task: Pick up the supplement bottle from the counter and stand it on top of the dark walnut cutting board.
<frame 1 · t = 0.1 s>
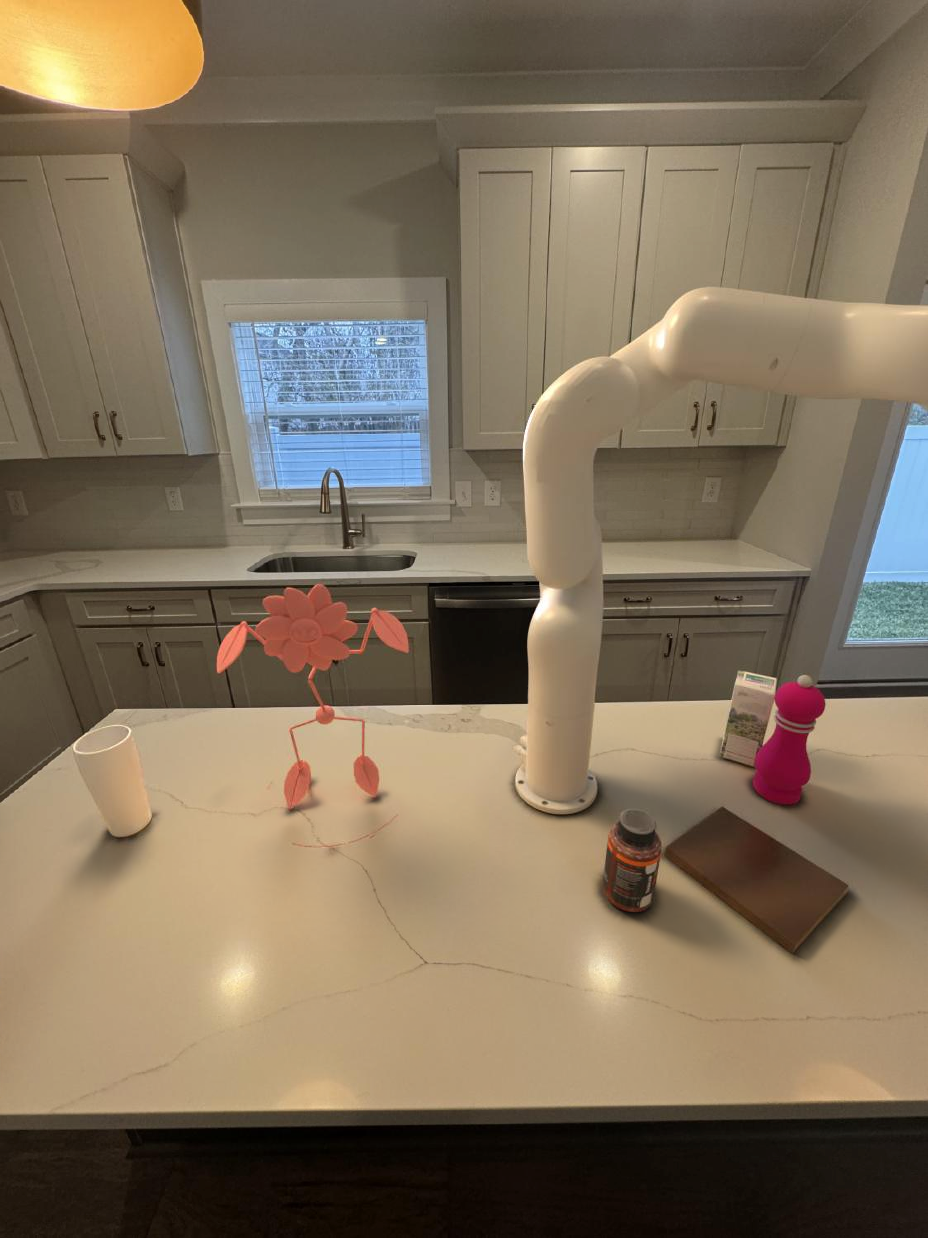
supplement bottle: (627, 894, 62), on the table
syrup box: (739, 755, 86), on the table
pepper mill: (775, 791, 78), on the table
drinking glass: (132, 826, 74), on the table
cutting board: (750, 873, 64), on the table
figurine: (331, 812, 75), on the table
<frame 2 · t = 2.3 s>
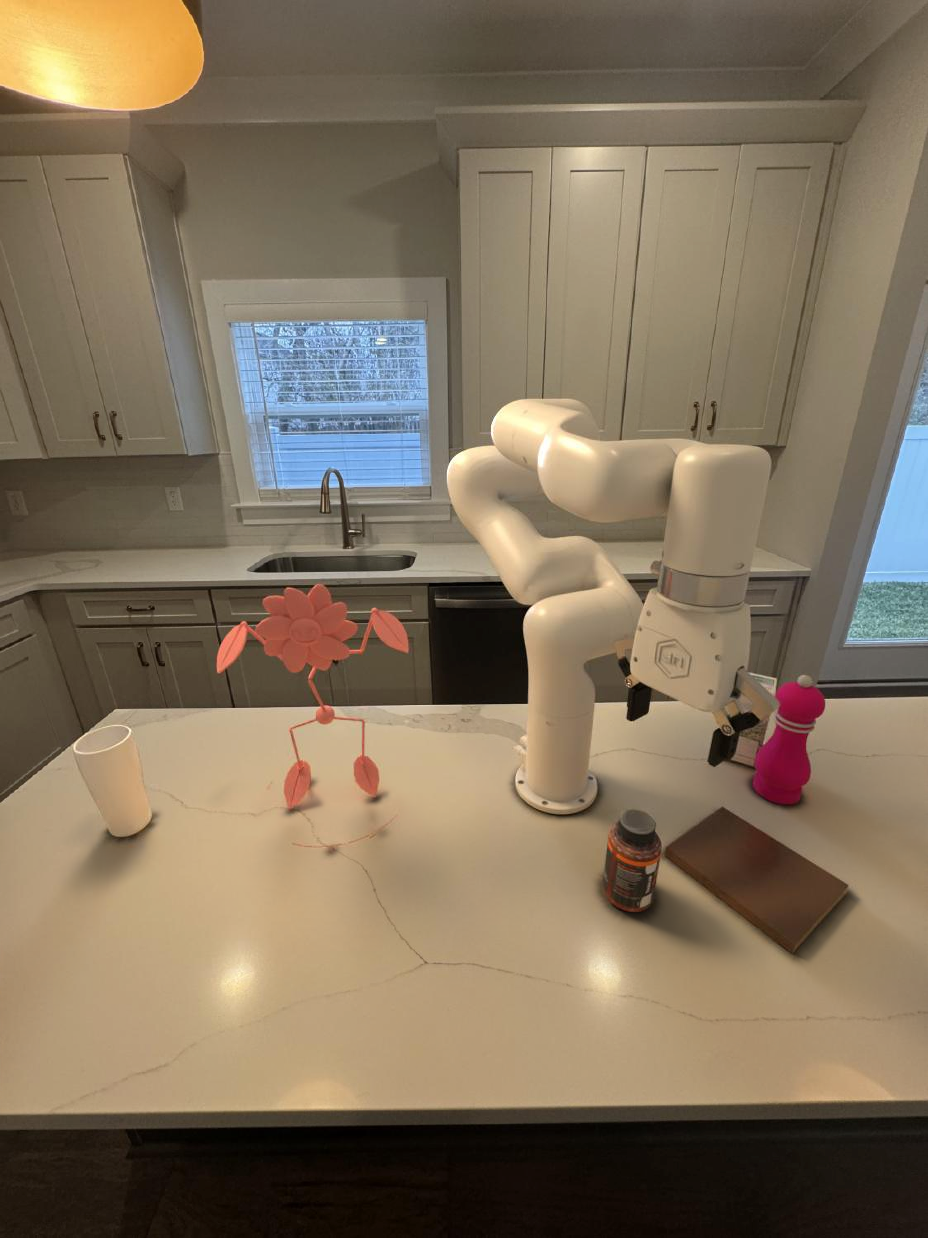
hand: (675, 737, 54), 22 cm above the table, tool pointing down, fingers open, 9 cm apart
nothing on the table moved.
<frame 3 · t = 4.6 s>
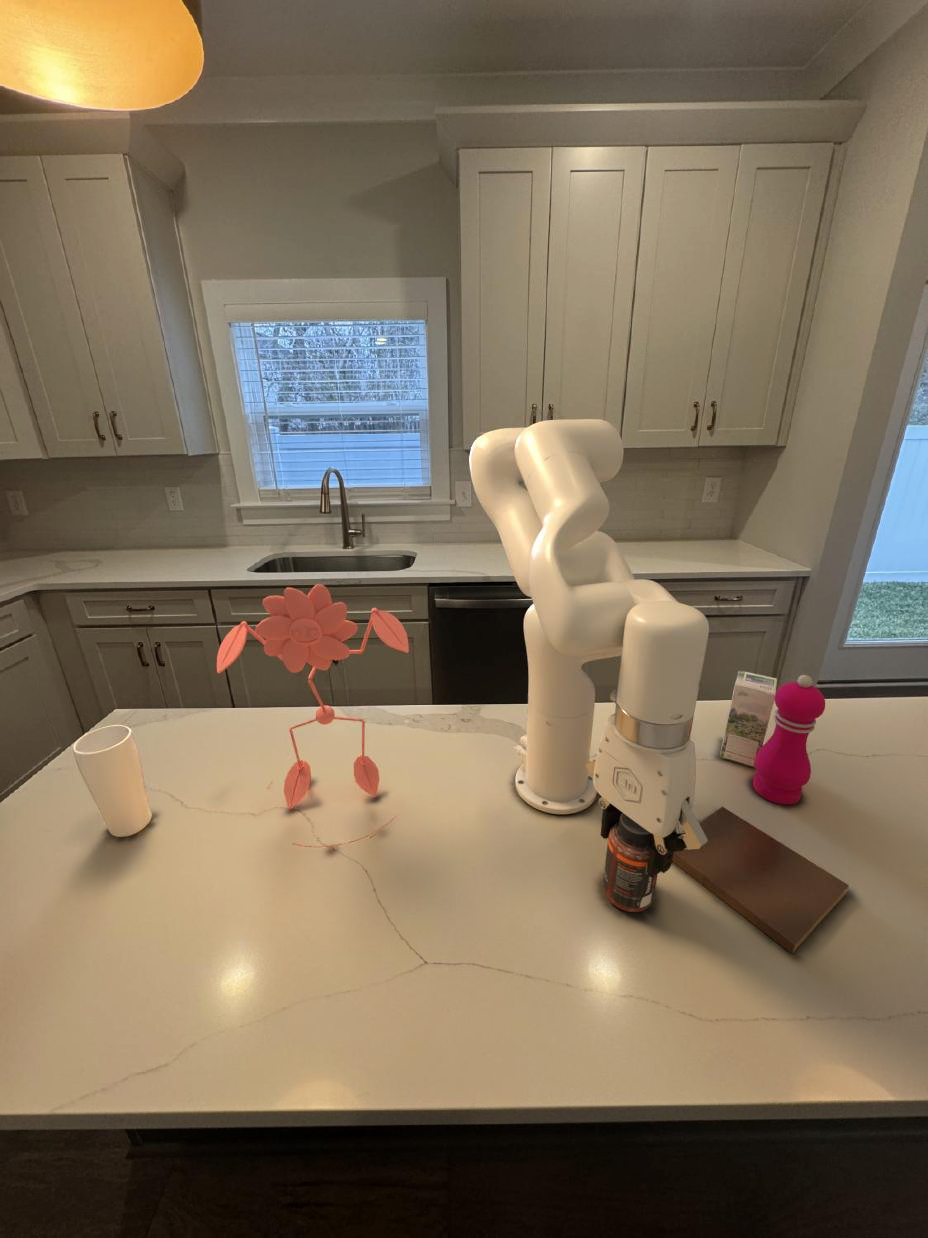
hand: (633, 849, 59), 7 cm above the table, tool pointing down, fingers closed on supplement bottle, 5 cm apart
supplement bottle: (627, 894, 62), on the table, touching gripper
everything else where it was.
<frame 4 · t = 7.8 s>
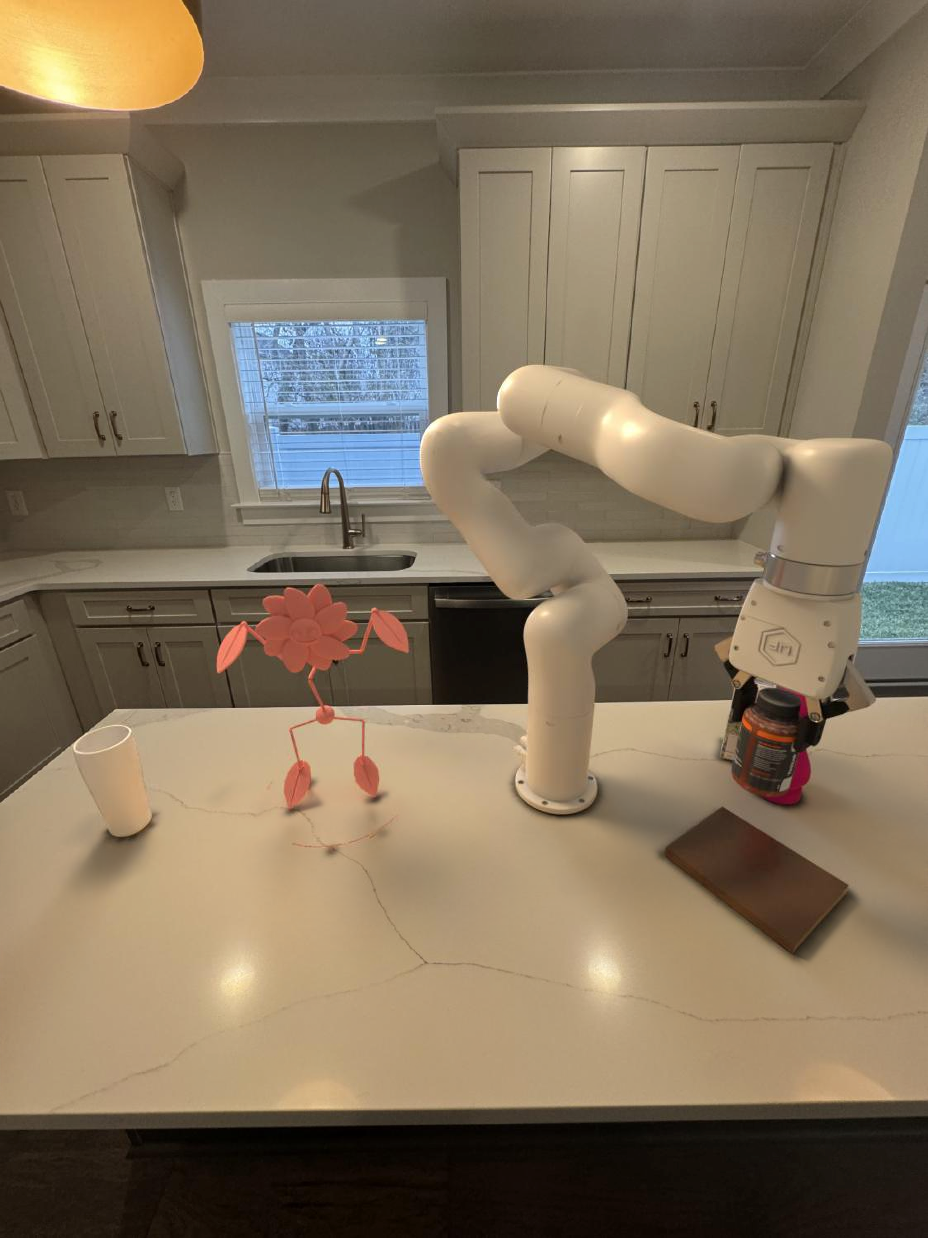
hand: (771, 730, 55), 22 cm above the table, tool pointing down, fingers closed on supplement bottle, 5 cm apart
supplement bottle: (758, 783, 58), point 15 cm above the table, touching gripper
everything else where it was.
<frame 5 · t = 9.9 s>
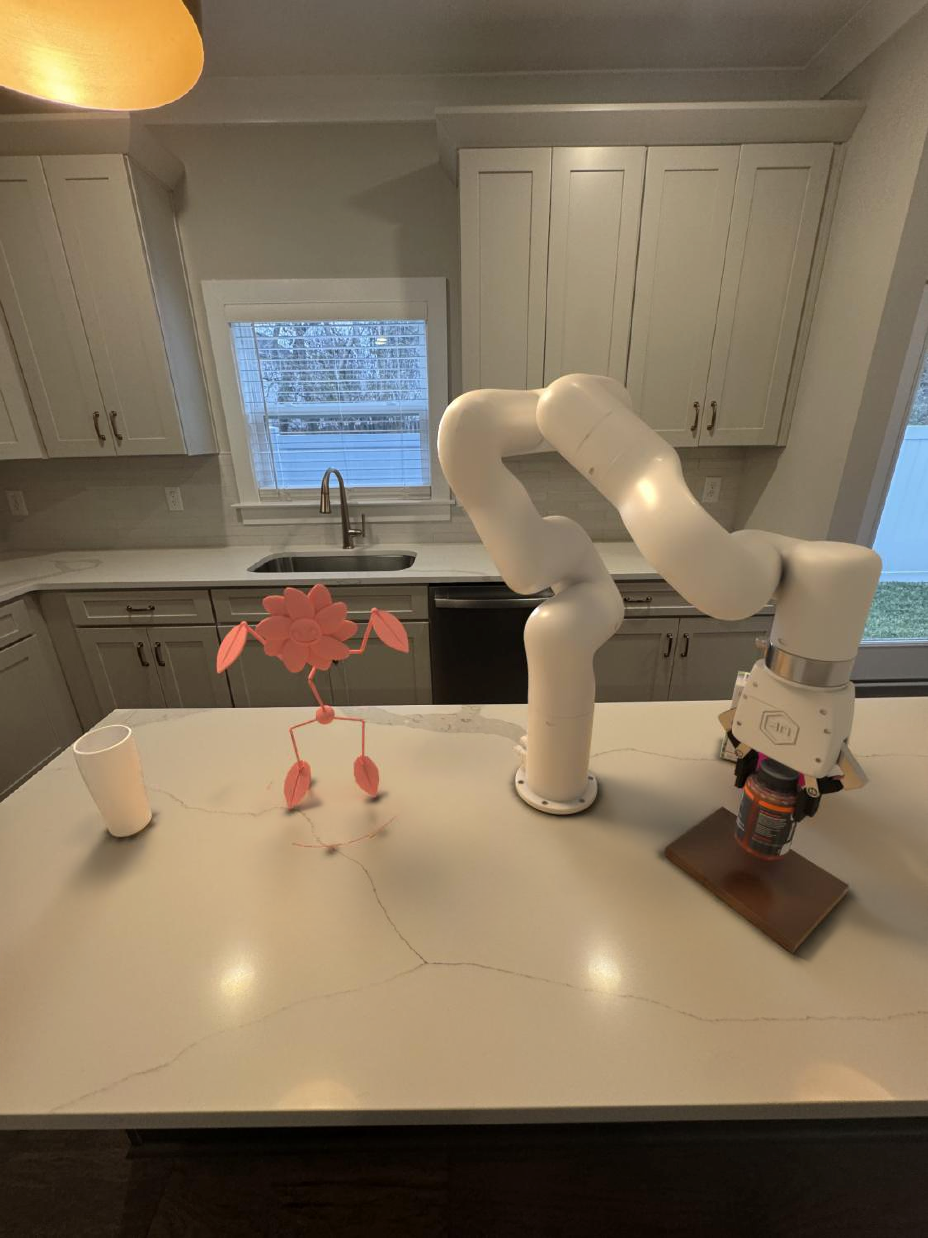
hand: (771, 798, 59), 12 cm above the table, tool pointing down, fingers closed on supplement bottle, 5 cm apart
supplement bottle: (759, 844, 62), point 5 cm above the table, touching gripper
everything else where it was.
when the fingers open (8 cm above the table, at t = 11.4 s): supplement bottle stays where it is, resting on cutting board.
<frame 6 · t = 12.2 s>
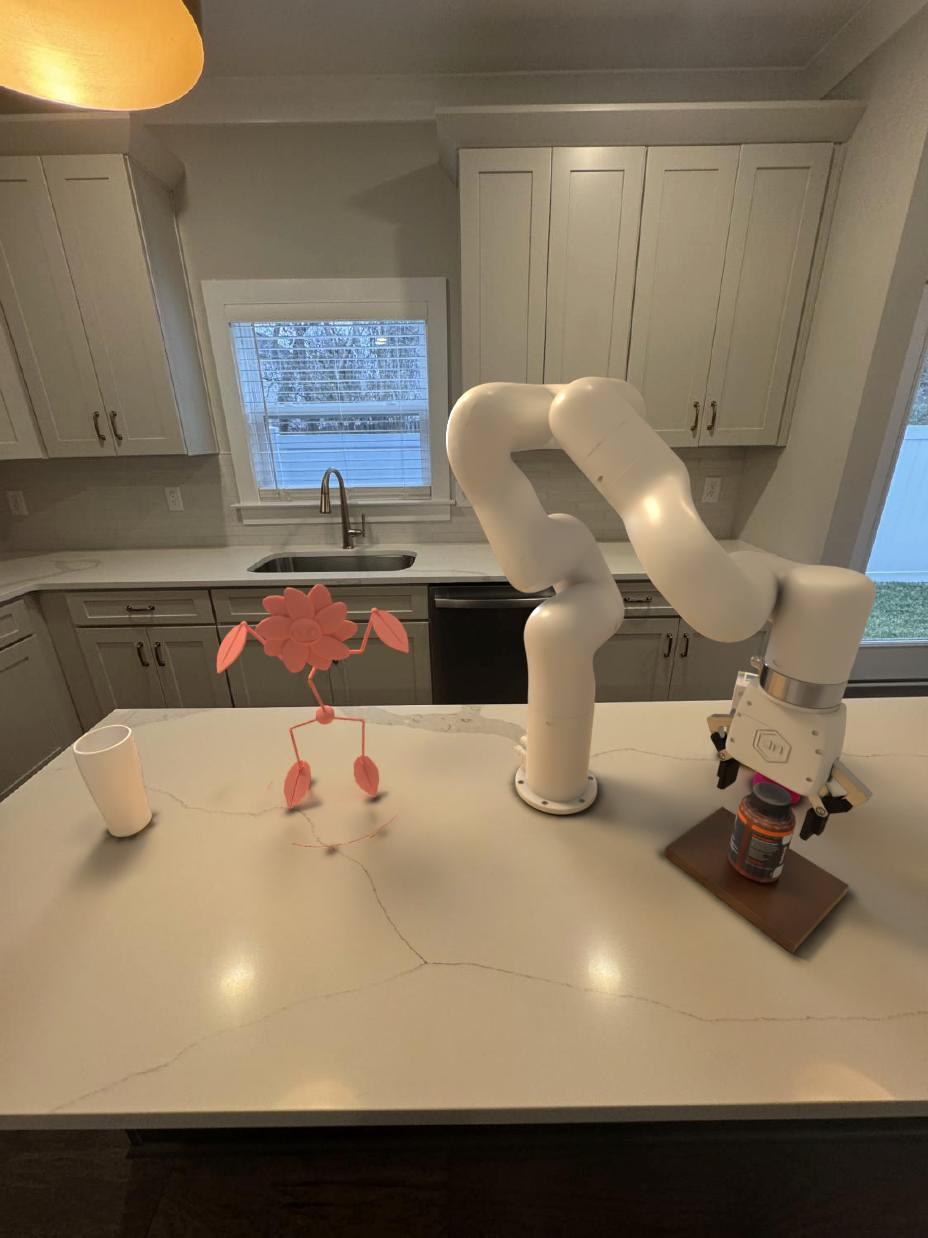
hand: (764, 808, 60), 10 cm above the table, tool pointing down, fingers open, 9 cm apart
supplement bottle: (752, 866, 64), point 1 cm above the table, touching cutting board
everything else where it was.
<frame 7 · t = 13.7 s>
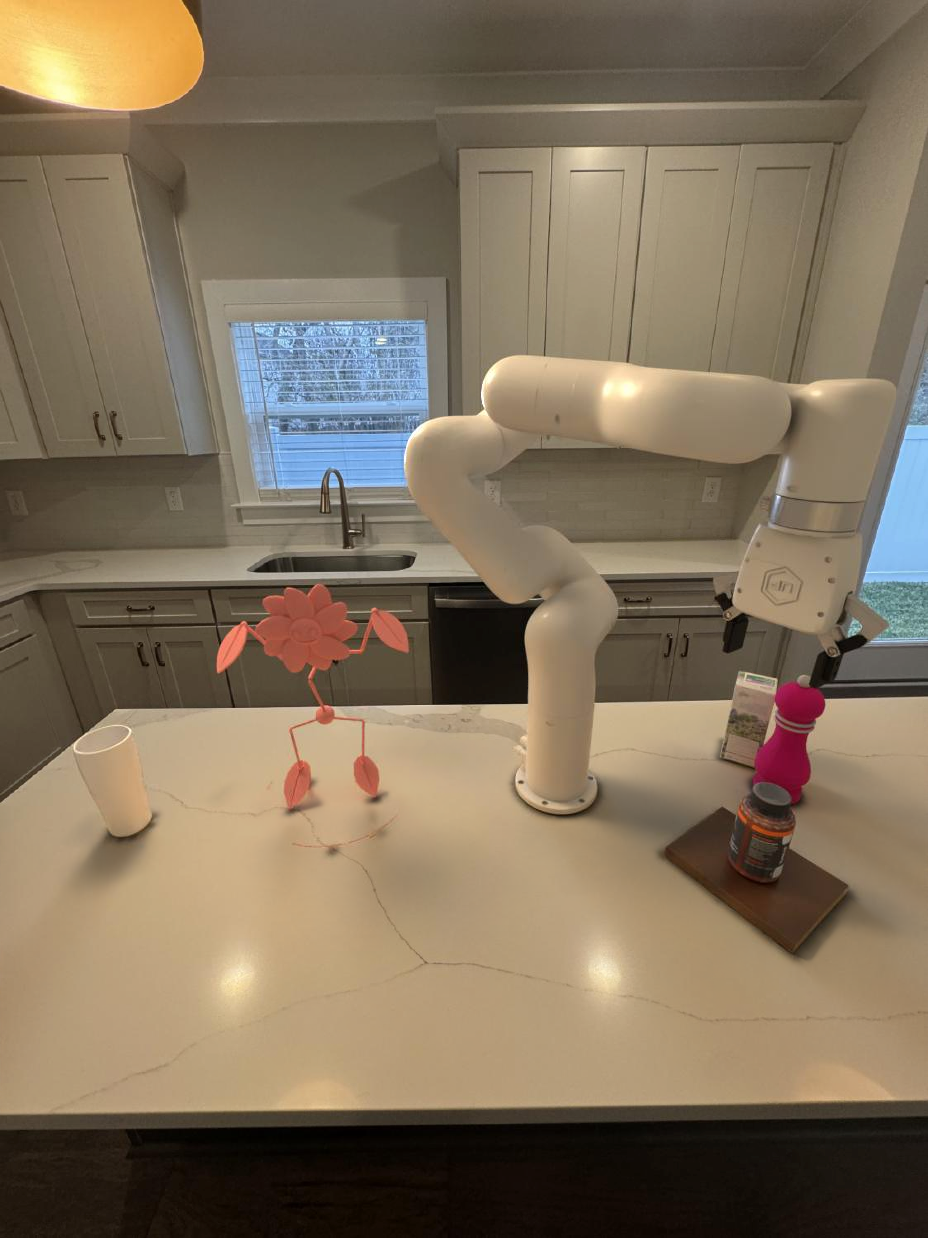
hand: (772, 666, 57), 27 cm above the table, tool pointing down, fingers open, 9 cm apart
nothing on the table moved.
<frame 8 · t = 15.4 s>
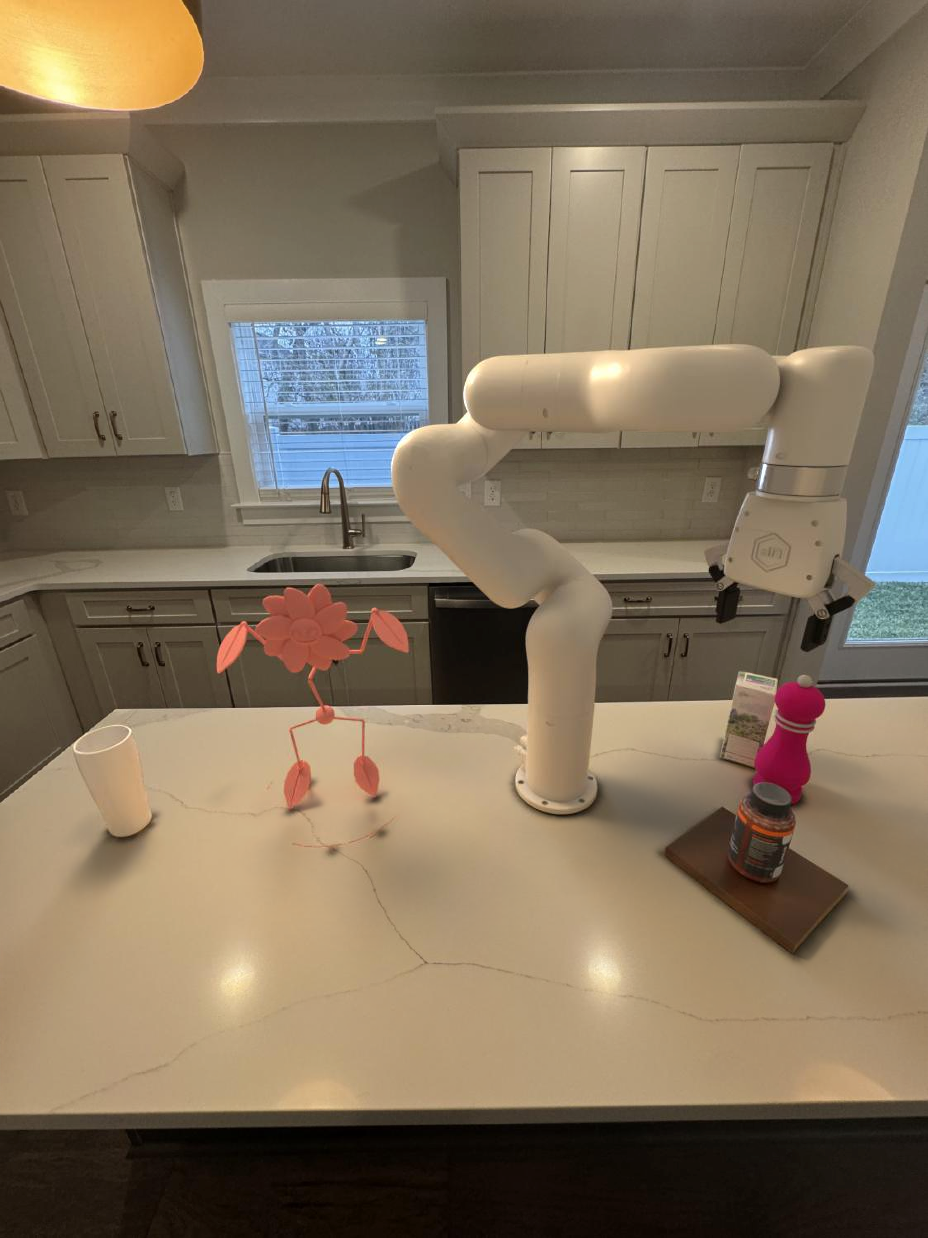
hand: (764, 633, 59), 30 cm above the table, tool pointing down, fingers open, 9 cm apart
nothing on the table moved.
at the end: supplement bottle inside the target area on the cutting board (0.0 cm from its centre), point 1.3 cm above the cutting board's base; supplement bottle tilted 0°; the gripper is holding nothing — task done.
